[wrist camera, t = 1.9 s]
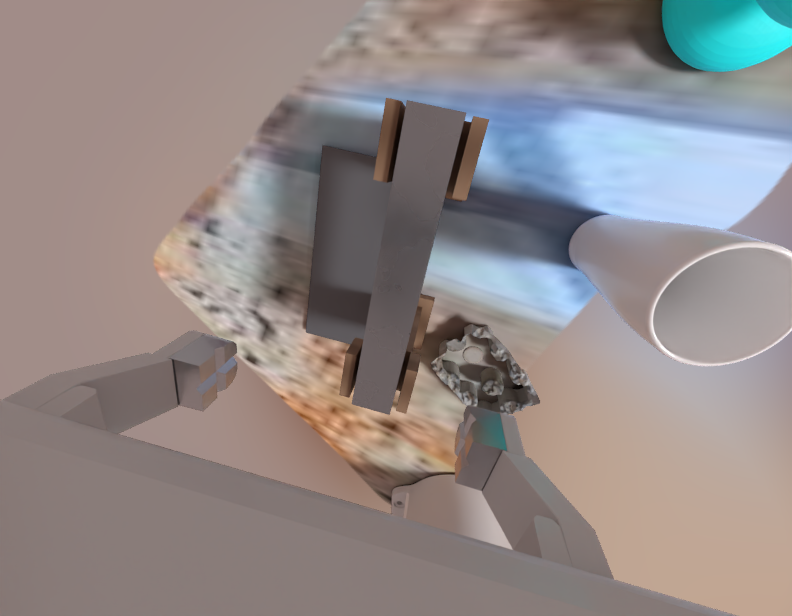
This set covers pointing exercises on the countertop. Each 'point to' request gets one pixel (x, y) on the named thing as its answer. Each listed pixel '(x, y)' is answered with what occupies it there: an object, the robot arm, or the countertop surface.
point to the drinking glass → (689, 286)
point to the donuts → (727, 31)
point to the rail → (406, 247)
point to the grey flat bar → (345, 244)
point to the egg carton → (486, 374)
